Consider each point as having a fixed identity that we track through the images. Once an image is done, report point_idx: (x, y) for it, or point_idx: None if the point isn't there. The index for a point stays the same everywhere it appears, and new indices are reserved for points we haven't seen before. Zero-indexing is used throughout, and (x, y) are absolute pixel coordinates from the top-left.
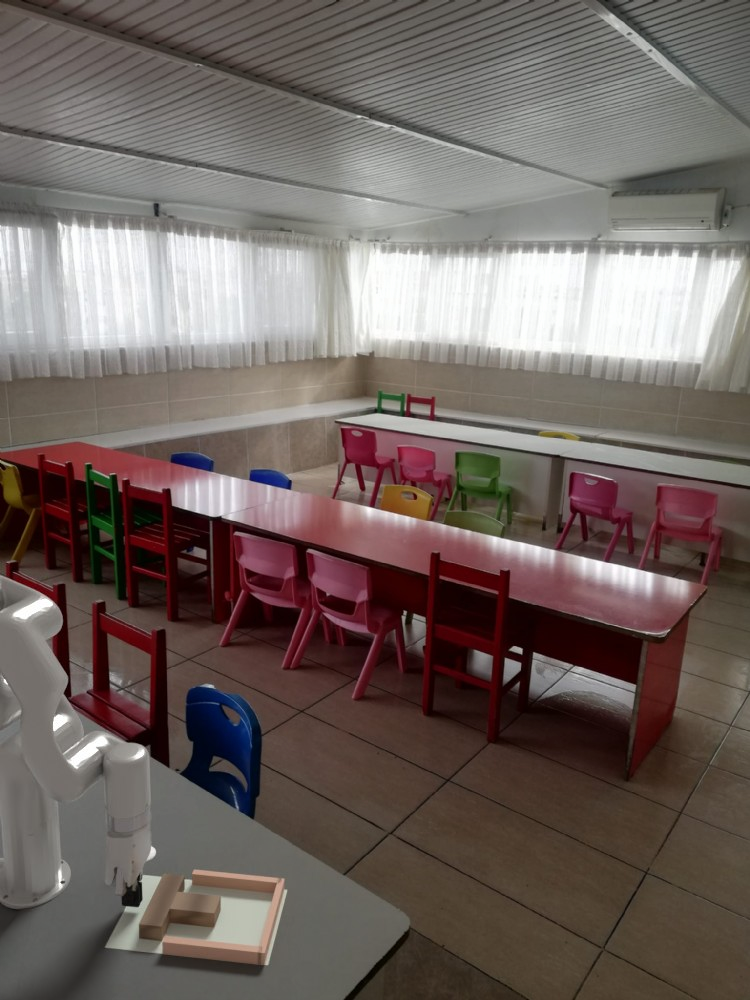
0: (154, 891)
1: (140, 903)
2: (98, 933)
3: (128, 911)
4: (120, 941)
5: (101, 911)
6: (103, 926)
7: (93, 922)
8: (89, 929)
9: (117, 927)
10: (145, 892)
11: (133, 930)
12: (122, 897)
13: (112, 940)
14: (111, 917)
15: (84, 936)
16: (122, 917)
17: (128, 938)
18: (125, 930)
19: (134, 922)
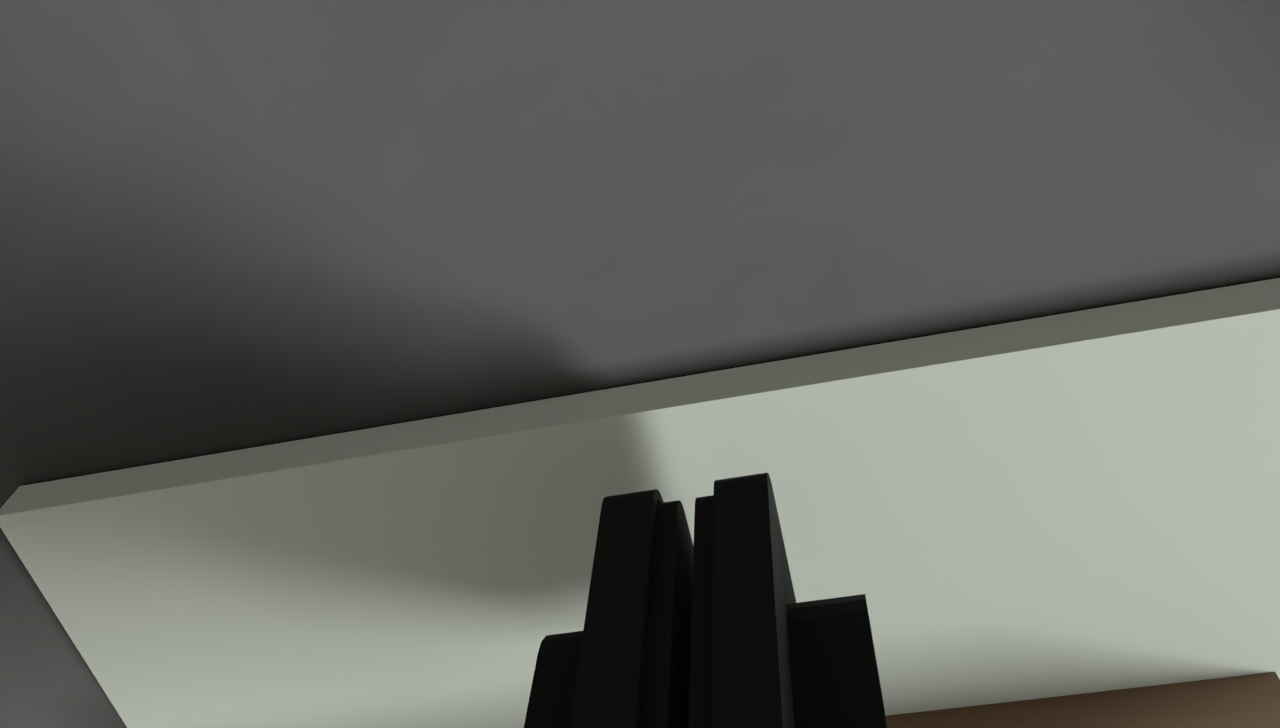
0: (1162, 604)
1: (876, 541)
2: (175, 248)
3: (667, 476)
4: (186, 626)
5: (562, 8)
6: (317, 239)
7: (299, 33)
8: (152, 66)
9: (346, 487)
10: (1121, 501)
11: (404, 680)
12: (594, 620)
13: (138, 540)
14: (520, 248)
15: (6, 80)
16: (527, 461)
17: (270, 687)
18: (353, 603)
19: (522, 633)
